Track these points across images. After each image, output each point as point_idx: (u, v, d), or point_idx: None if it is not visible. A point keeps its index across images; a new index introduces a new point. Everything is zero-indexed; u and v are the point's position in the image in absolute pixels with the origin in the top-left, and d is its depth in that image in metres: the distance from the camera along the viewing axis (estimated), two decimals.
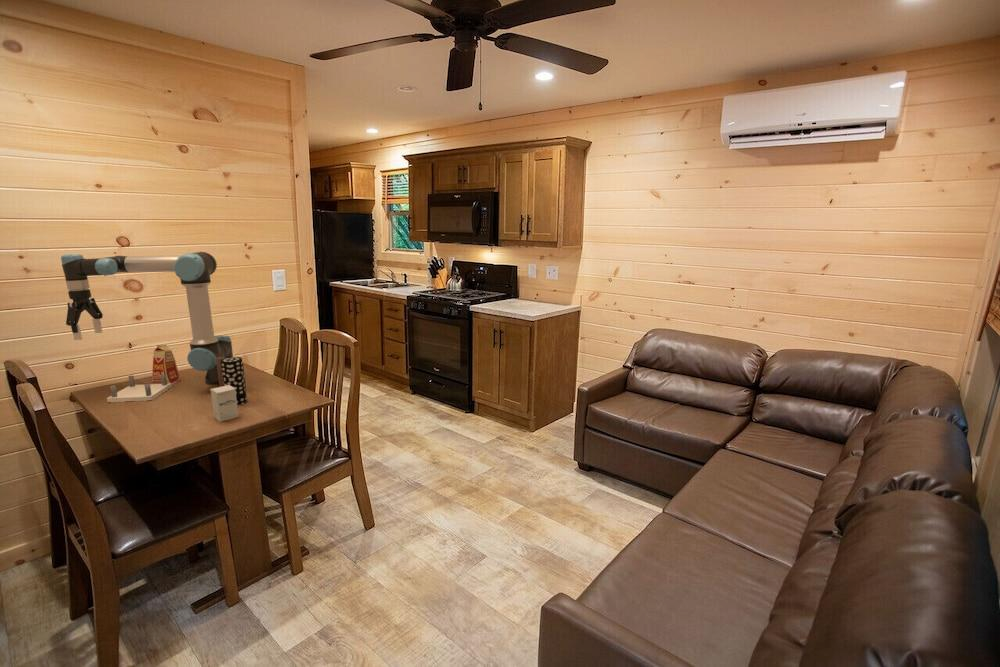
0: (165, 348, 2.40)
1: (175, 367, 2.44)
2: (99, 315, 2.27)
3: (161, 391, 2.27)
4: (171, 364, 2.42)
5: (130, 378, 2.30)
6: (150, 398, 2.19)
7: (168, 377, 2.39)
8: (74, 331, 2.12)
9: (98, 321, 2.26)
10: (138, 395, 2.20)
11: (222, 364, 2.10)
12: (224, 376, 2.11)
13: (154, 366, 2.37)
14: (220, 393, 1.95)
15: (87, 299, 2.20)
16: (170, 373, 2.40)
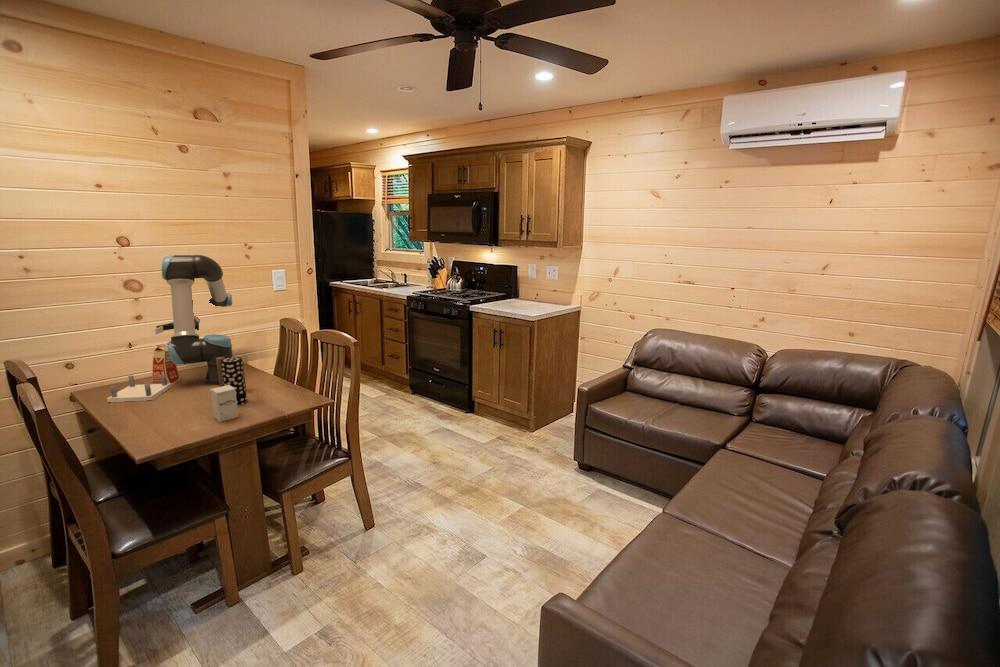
0: (165, 348, 2.40)
1: (175, 367, 2.44)
2: None
3: (161, 391, 2.27)
4: (171, 364, 2.42)
5: (130, 378, 2.30)
6: (150, 398, 2.19)
7: (168, 377, 2.39)
8: None
9: None
10: (138, 395, 2.20)
11: (222, 364, 2.10)
12: (224, 376, 2.11)
13: (154, 366, 2.37)
14: (220, 393, 1.95)
15: None
16: (170, 373, 2.40)
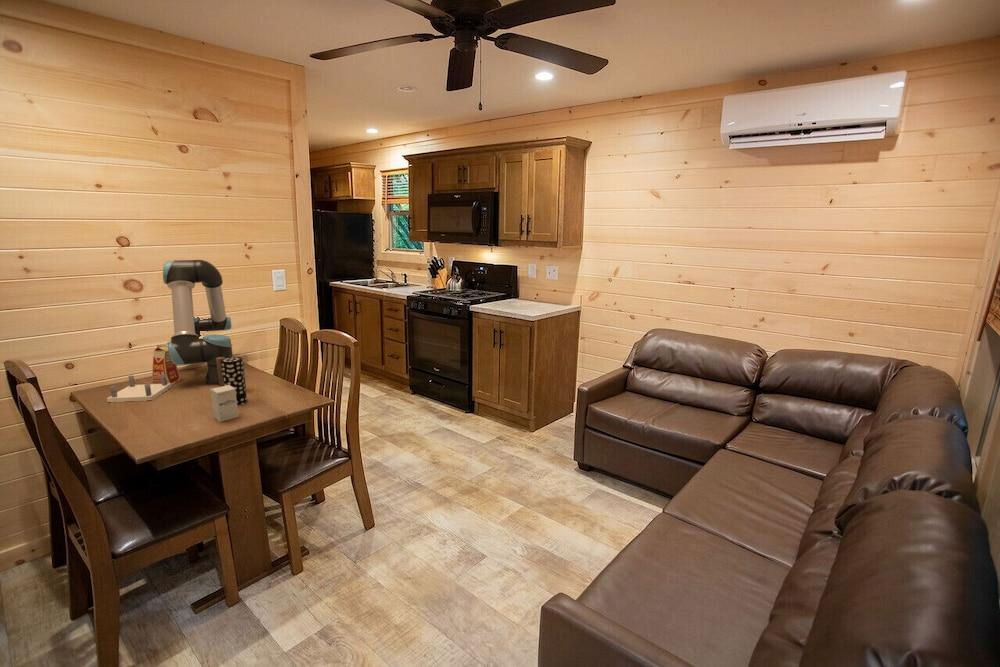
0: (165, 348, 2.40)
1: (175, 367, 2.44)
2: None
3: (161, 391, 2.27)
4: (171, 364, 2.42)
5: (130, 378, 2.30)
6: (150, 398, 2.19)
7: (168, 377, 2.39)
8: None
9: None
10: (138, 395, 2.20)
11: (222, 364, 2.10)
12: (224, 376, 2.11)
13: (154, 366, 2.37)
14: (220, 393, 1.95)
15: None
16: (170, 373, 2.40)
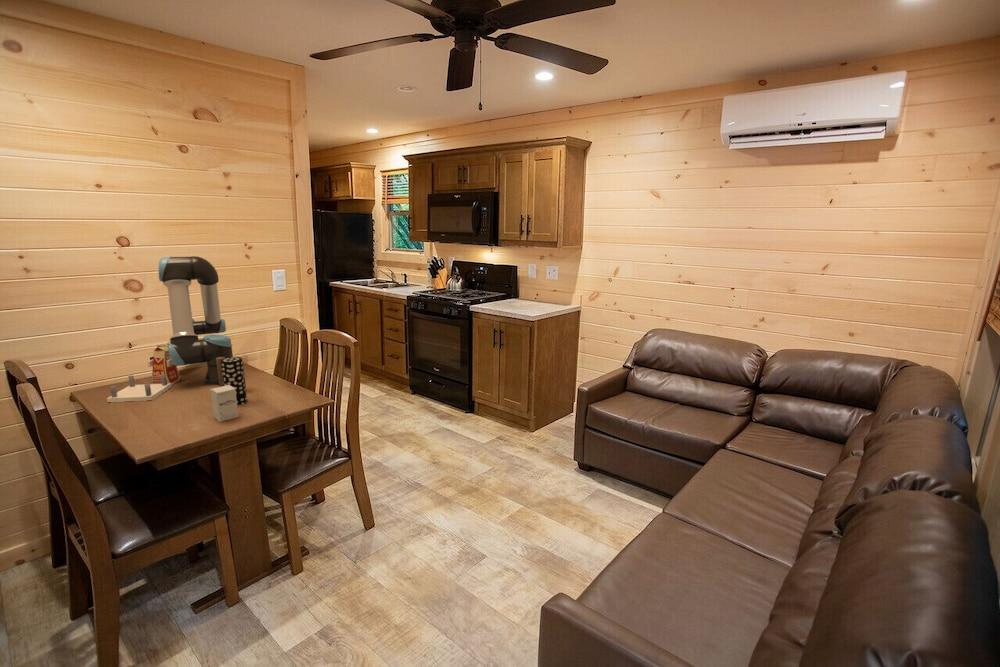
0: (165, 348, 2.40)
1: (175, 367, 2.44)
2: None
3: (161, 391, 2.27)
4: None
5: (130, 378, 2.30)
6: (150, 398, 2.19)
7: (168, 377, 2.39)
8: None
9: None
10: (138, 395, 2.20)
11: (222, 364, 2.10)
12: (224, 376, 2.11)
13: (154, 366, 2.37)
14: (220, 393, 1.95)
15: None
16: (170, 372, 2.40)
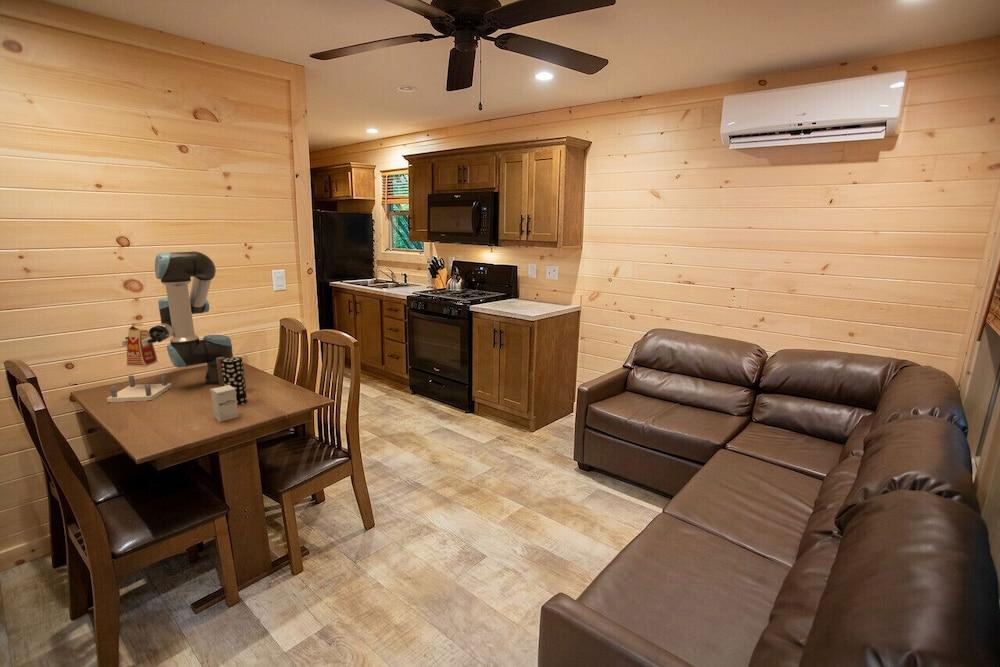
0: (141, 327, 2.26)
1: (152, 348, 2.30)
2: (155, 336, 2.30)
3: (161, 391, 2.27)
4: None
5: (130, 378, 2.30)
6: (150, 398, 2.19)
7: (143, 358, 2.25)
8: None
9: None
10: (138, 395, 2.20)
11: (222, 364, 2.10)
12: (224, 376, 2.11)
13: (129, 346, 2.23)
14: (220, 393, 1.95)
15: (160, 332, 2.40)
16: (146, 353, 2.26)
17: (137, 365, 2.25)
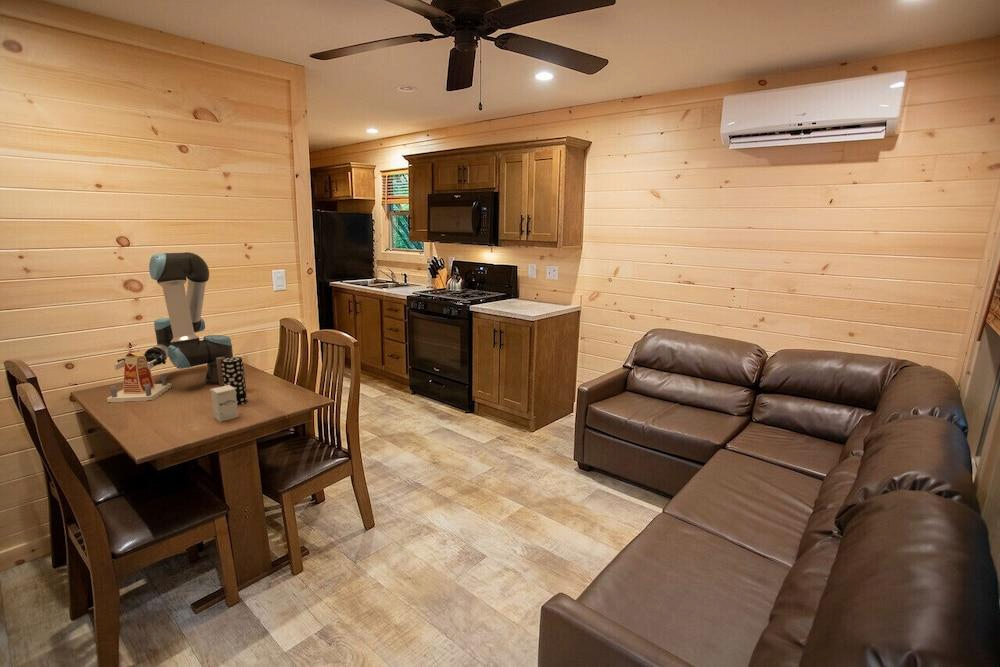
0: (138, 353, 2.23)
1: (149, 374, 2.27)
2: (159, 358, 2.28)
3: (161, 391, 2.27)
4: (145, 371, 2.24)
5: None
6: (150, 398, 2.19)
7: (141, 385, 2.21)
8: None
9: None
10: (138, 395, 2.20)
11: (222, 364, 2.10)
12: (224, 376, 2.11)
13: (126, 373, 2.20)
14: (220, 393, 1.95)
15: (156, 354, 2.36)
16: (143, 380, 2.23)
17: (134, 392, 2.21)
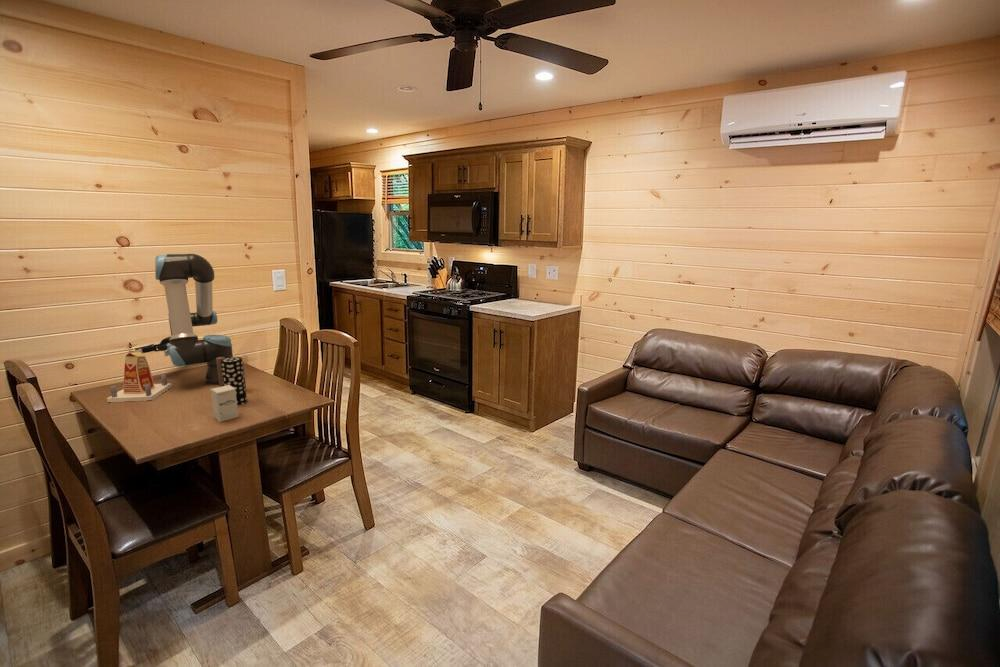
0: (138, 353, 2.23)
1: (149, 374, 2.27)
2: None
3: (161, 391, 2.27)
4: (145, 371, 2.24)
5: None
6: (150, 398, 2.19)
7: (141, 385, 2.21)
8: None
9: None
10: (138, 395, 2.20)
11: (222, 364, 2.10)
12: (224, 376, 2.11)
13: (126, 373, 2.20)
14: (220, 393, 1.95)
15: None
16: (143, 380, 2.23)
17: (134, 392, 2.21)
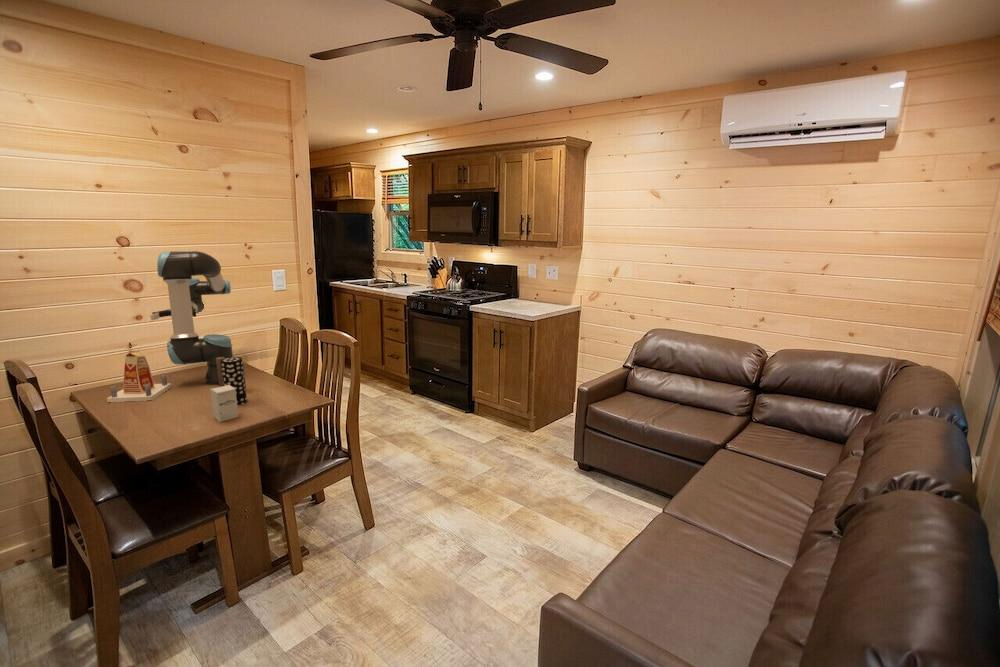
0: (138, 353, 2.23)
1: (149, 374, 2.27)
2: None
3: (161, 391, 2.27)
4: (145, 371, 2.24)
5: None
6: (150, 398, 2.19)
7: (141, 385, 2.21)
8: None
9: None
10: (138, 395, 2.20)
11: (222, 364, 2.10)
12: (224, 376, 2.11)
13: (126, 373, 2.20)
14: (220, 393, 1.95)
15: None
16: (143, 380, 2.23)
17: (134, 392, 2.21)
